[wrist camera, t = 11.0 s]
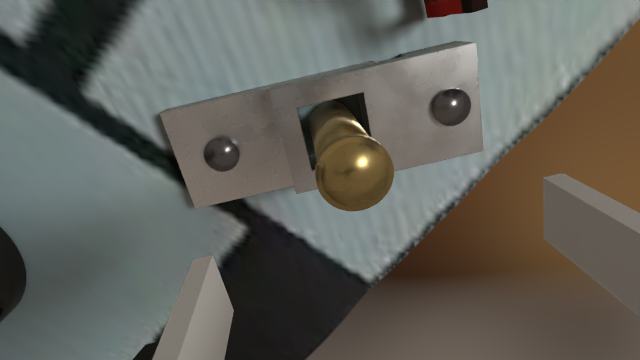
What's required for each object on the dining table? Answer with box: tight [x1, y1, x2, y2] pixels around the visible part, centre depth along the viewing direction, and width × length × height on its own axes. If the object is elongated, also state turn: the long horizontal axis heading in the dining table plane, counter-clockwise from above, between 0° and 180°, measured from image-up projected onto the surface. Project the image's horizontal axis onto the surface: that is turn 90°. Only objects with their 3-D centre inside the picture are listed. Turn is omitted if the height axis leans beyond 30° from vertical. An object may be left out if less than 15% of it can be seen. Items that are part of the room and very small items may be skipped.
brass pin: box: [309, 101, 394, 211], centre depth 29 cm, size 5×5×14 cm
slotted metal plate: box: [160, 41, 483, 209], centre depth 34 cm, size 26×9×5 cm, turn 102°
